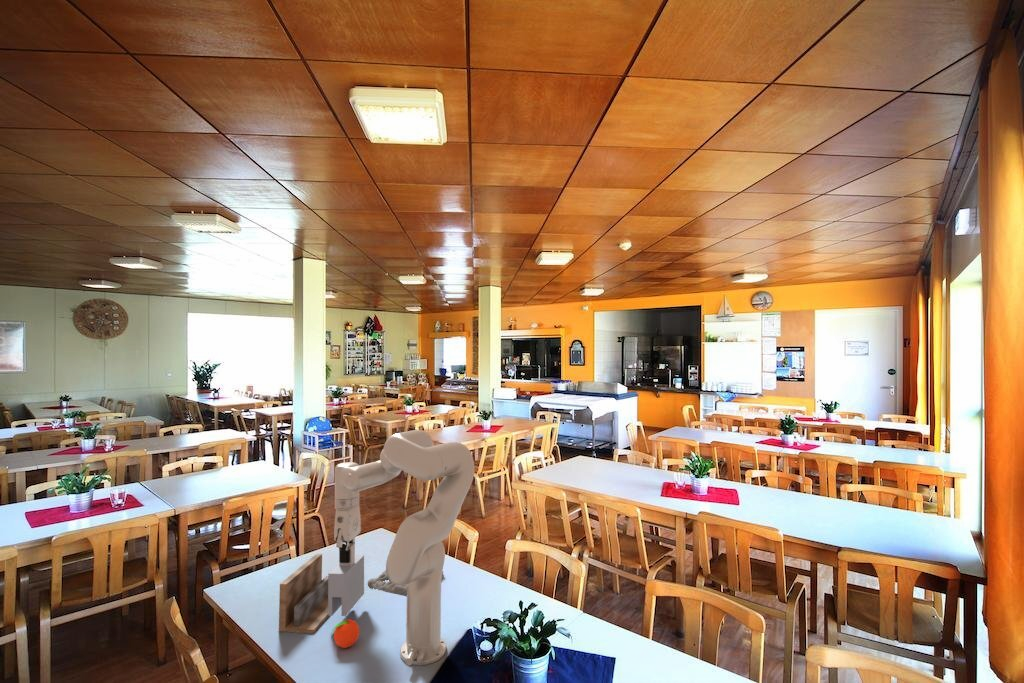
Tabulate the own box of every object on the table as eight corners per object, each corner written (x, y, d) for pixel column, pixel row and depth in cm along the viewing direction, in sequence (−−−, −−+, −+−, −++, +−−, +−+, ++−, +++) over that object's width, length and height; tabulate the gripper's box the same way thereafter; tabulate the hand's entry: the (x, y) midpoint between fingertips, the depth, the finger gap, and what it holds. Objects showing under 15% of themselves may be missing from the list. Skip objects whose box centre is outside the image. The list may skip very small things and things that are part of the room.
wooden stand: (313, 633, 140) (314, 585, 140) (278, 631, 141) (279, 583, 141) (346, 596, 162) (347, 555, 162) (315, 594, 163) (316, 553, 163)
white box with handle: (345, 616, 142) (345, 553, 143) (328, 615, 142) (328, 553, 143) (364, 593, 156) (364, 536, 157) (348, 593, 156) (348, 536, 157)
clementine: (333, 658, 129) (334, 631, 129) (326, 645, 134) (327, 620, 135) (362, 647, 133) (363, 622, 134) (354, 635, 139) (355, 611, 139)
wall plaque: (446, 576, 178) (446, 565, 178) (420, 600, 160) (420, 589, 160) (393, 566, 186) (393, 556, 186) (363, 588, 168) (363, 577, 168)
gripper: (347, 510, 142) (347, 571, 141) (368, 495, 158) (368, 550, 157) (323, 509, 143) (323, 571, 142) (347, 495, 159) (346, 550, 158)
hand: (347, 559), depth 150 cm, fingers closed on white box with handle, 2 cm apart
